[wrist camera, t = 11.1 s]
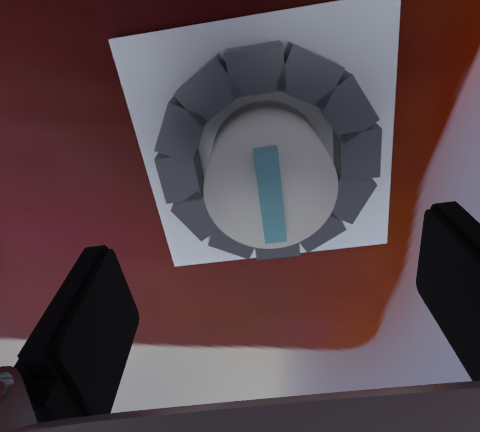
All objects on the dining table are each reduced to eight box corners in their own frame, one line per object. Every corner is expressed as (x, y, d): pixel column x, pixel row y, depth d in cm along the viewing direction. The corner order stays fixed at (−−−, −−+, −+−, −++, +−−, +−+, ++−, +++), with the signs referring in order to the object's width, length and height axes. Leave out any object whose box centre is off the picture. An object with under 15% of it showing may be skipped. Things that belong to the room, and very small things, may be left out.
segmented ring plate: (114, 38, 19) (93, 42, 16) (393, -10, 18) (419, -13, 15) (177, 257, 26) (169, 286, 23) (381, 235, 24) (397, 262, 22)
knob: (203, 109, 20) (188, 142, 15) (316, 92, 19) (340, 121, 14) (222, 207, 22) (215, 263, 17) (321, 195, 22) (342, 249, 17)
